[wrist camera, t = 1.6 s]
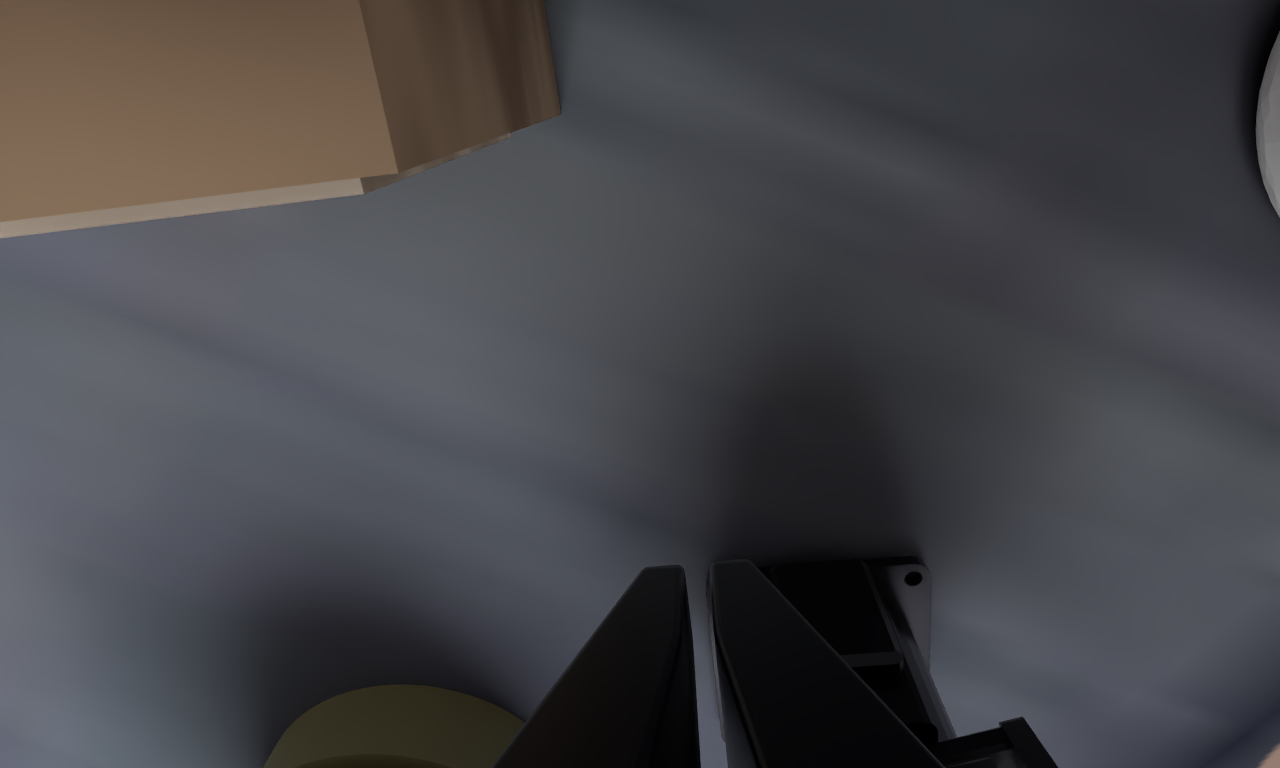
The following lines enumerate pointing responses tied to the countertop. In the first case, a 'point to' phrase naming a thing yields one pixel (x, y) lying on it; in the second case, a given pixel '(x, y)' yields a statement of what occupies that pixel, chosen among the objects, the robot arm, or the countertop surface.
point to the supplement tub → (1270, 127)
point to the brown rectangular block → (250, 100)
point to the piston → (397, 731)
